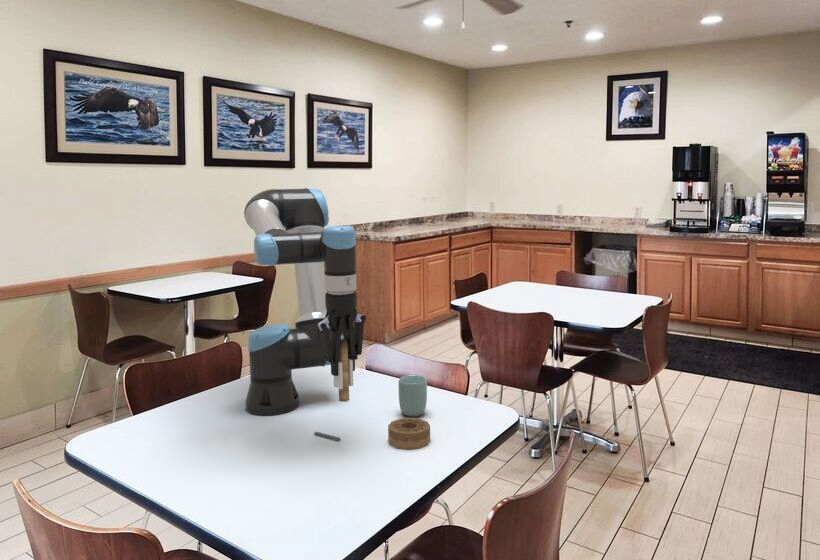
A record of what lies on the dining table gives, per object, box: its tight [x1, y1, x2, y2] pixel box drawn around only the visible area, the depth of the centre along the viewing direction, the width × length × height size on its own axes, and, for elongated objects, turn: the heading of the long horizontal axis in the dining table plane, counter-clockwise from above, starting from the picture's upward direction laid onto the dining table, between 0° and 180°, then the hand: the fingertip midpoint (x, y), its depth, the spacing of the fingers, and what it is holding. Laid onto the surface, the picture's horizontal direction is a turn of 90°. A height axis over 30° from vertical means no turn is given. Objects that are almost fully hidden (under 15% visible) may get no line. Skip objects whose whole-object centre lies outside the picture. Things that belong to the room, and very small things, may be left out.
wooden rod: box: [338, 338, 350, 403], centre depth 152 cm, size 2×2×15 cm
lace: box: [313, 431, 341, 442], centre depth 158 cm, size 8×1×1 cm, turn 57°
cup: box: [397, 374, 428, 418], centre depth 172 cm, size 8×8×10 cm
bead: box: [387, 417, 431, 450], centre depth 154 cm, size 10×10×4 cm
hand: (343, 385), depth 153 cm, fingers closed on wooden rod, 2 cm apart
